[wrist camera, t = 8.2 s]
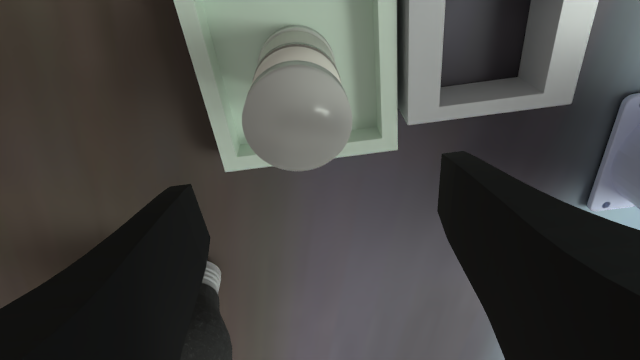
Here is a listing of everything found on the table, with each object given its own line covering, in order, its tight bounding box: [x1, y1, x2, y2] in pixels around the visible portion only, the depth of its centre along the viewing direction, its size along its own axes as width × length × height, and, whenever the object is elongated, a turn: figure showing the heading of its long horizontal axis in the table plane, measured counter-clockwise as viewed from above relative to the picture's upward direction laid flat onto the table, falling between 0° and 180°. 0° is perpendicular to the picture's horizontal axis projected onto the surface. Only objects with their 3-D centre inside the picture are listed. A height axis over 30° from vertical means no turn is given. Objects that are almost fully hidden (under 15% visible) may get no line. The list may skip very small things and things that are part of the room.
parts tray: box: [173, 0, 398, 172], centre depth 18 cm, size 9×9×2 cm
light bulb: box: [180, 261, 232, 360], centre depth 22 cm, size 6×6×10 cm
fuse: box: [242, 25, 352, 171], centre depth 16 cm, size 4×4×7 cm
